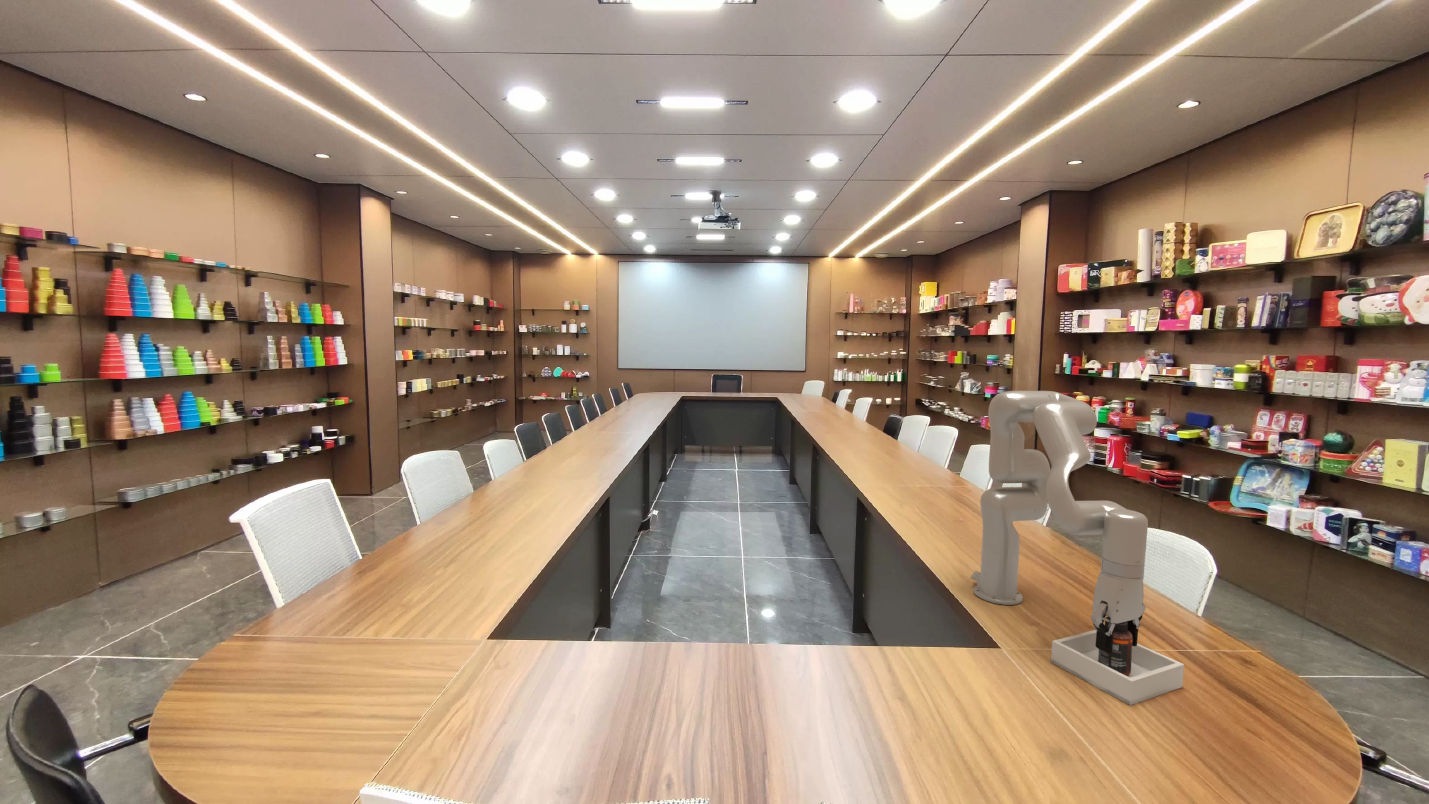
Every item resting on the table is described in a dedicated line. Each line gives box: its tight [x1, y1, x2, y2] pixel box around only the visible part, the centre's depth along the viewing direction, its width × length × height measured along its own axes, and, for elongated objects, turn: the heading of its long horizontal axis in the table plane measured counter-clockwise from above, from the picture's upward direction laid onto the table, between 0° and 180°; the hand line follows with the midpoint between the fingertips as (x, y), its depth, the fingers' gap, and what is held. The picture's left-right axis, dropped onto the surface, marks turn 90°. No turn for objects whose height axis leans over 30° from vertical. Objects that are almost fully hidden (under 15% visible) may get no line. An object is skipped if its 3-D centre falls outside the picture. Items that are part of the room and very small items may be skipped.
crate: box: [1050, 629, 1185, 706], centre depth 124 cm, size 17×17×5 cm
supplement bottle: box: [1098, 616, 1133, 676], centre depth 124 cm, size 6×6×11 cm
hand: (1116, 646), depth 124 cm, fingers open, 7 cm apart
